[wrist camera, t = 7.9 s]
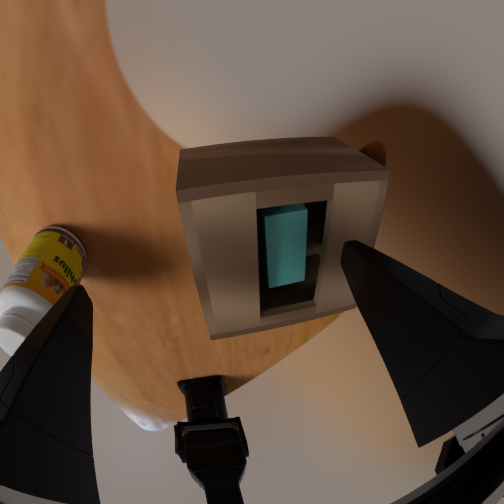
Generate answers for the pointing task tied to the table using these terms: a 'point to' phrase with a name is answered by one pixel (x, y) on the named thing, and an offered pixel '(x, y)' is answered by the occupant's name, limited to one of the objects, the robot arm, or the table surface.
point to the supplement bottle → (38, 283)
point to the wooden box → (245, 226)
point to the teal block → (282, 243)
